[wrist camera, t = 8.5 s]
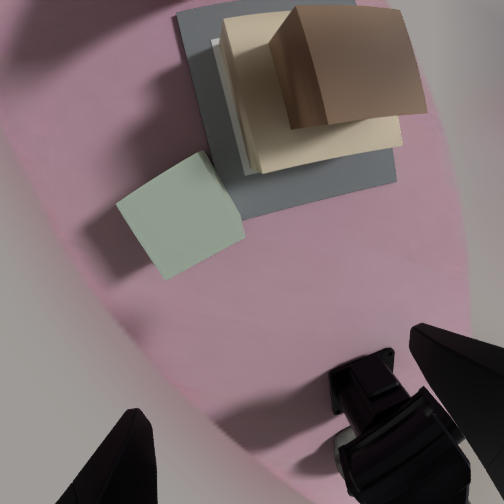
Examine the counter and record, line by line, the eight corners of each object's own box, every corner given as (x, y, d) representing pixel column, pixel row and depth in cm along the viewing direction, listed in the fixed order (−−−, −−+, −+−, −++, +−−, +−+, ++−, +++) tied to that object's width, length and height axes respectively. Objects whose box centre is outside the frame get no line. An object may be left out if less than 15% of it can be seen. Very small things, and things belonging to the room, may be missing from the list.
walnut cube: (372, 116, 14) (427, 113, 9) (290, 129, 13) (328, 124, 9) (351, 37, 12) (399, 9, 8) (268, 43, 12) (295, 5, 8)
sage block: (240, 214, 18) (245, 237, 14) (177, 249, 19) (165, 280, 15) (203, 149, 17) (197, 152, 13) (139, 188, 17) (115, 203, 13)
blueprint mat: (394, 181, 20) (397, 181, 19) (229, 222, 19) (229, 223, 19) (351, -2, 15) (353, -4, 14) (176, 14, 14) (175, 12, 13)
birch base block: (367, 143, 18) (402, 146, 14) (250, 167, 18) (262, 173, 14) (340, 31, 15) (369, 11, 11) (218, 43, 15) (223, 18, 11)
